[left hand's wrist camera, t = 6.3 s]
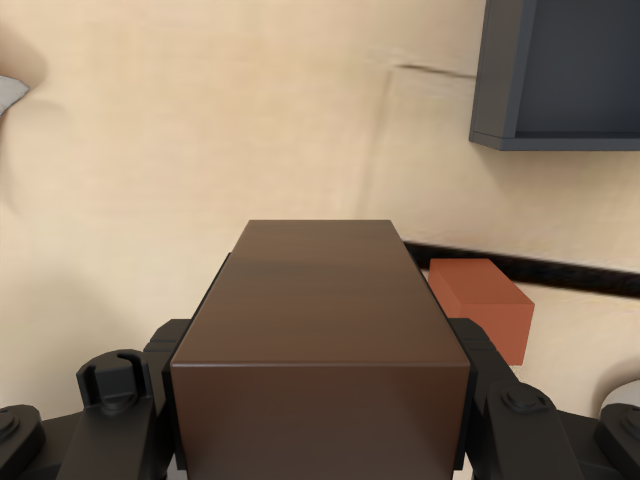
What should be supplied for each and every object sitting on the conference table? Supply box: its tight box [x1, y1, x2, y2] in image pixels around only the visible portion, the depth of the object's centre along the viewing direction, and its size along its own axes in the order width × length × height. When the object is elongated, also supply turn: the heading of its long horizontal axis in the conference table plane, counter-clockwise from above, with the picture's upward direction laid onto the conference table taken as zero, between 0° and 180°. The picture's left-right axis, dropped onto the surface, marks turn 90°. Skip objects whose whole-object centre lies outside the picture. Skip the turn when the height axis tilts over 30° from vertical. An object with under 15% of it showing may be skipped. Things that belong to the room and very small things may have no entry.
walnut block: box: [170, 220, 470, 480], centre depth 11 cm, size 5×5×8 cm
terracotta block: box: [428, 259, 535, 365], centre depth 32 cm, size 5×5×8 cm
